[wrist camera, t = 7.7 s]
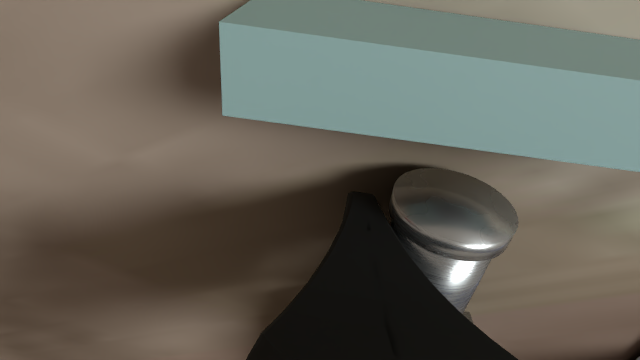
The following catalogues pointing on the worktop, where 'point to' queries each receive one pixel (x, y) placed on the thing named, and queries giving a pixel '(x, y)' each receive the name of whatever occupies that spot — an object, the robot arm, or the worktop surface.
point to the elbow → (451, 228)
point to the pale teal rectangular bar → (434, 79)
